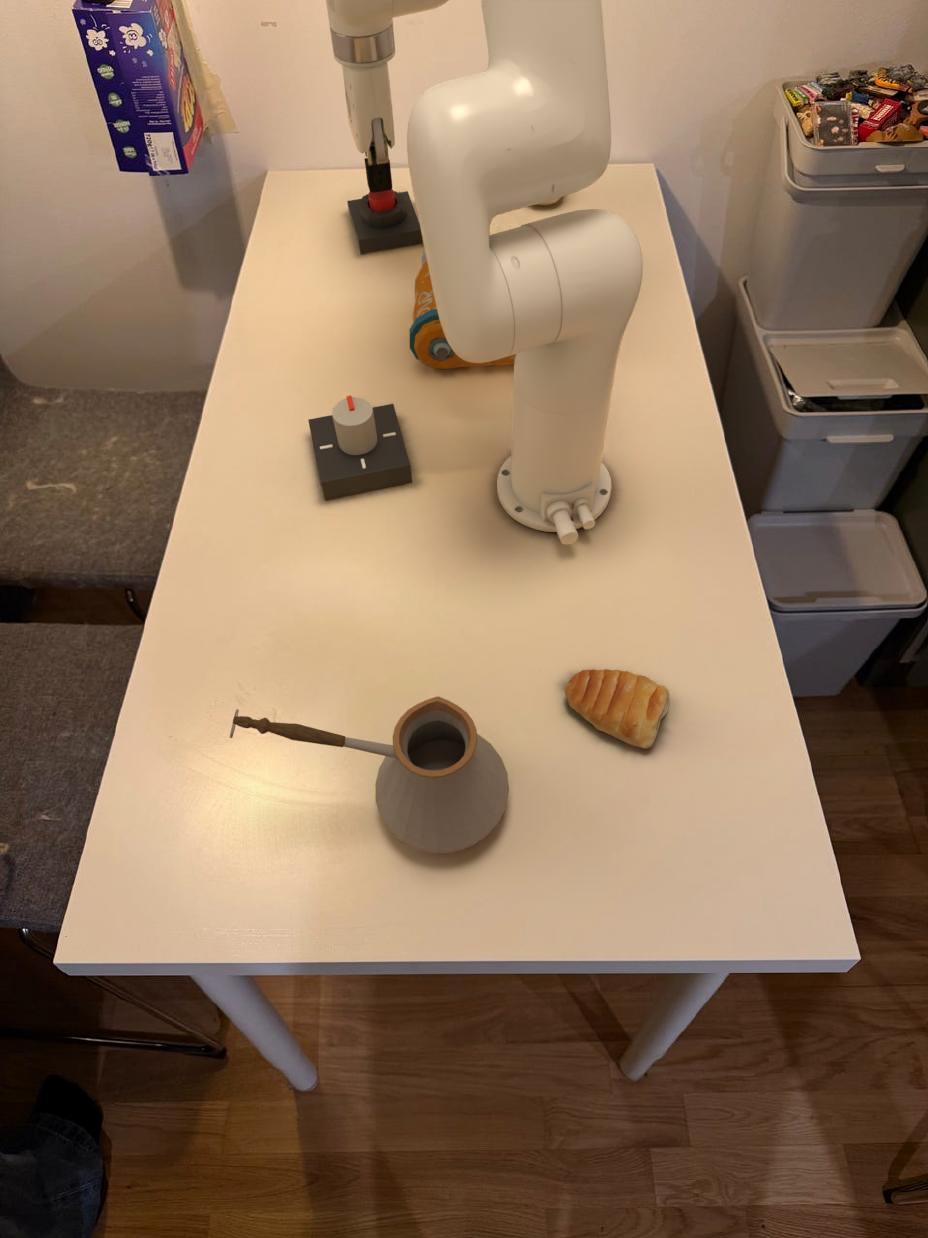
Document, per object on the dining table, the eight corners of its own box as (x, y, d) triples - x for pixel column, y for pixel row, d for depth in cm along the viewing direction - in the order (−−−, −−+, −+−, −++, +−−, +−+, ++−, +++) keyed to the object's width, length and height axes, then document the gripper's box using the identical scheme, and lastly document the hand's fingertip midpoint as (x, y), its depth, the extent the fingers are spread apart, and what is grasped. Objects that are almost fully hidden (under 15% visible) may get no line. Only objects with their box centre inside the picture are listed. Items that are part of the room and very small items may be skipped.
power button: (397, 210, 118) (396, 198, 116) (372, 214, 117) (370, 202, 116) (392, 196, 119) (391, 184, 118) (367, 200, 119) (366, 188, 118)
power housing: (422, 243, 119) (420, 217, 116) (360, 254, 118) (356, 227, 115) (409, 205, 124) (406, 178, 121) (349, 214, 124) (345, 188, 120)
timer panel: (412, 483, 95) (410, 463, 92) (325, 500, 94) (320, 481, 91) (395, 422, 100) (393, 402, 97) (312, 438, 99) (307, 418, 96)
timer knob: (380, 451, 93) (375, 419, 89) (341, 458, 93) (334, 426, 89) (374, 423, 96) (368, 391, 92) (335, 431, 95) (328, 398, 91)
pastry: (553, 720, 78) (556, 701, 75) (577, 662, 81) (581, 641, 78) (651, 756, 76) (658, 738, 73) (672, 695, 79) (679, 675, 76)
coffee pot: (510, 741, 77) (513, 659, 64) (506, 866, 71) (509, 802, 58) (281, 733, 78) (239, 650, 66) (258, 855, 72) (207, 790, 59)
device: (401, 213, 109) (630, 197, 109) (406, 270, 116) (622, 255, 116) (406, 326, 97) (665, 307, 97) (412, 382, 104) (653, 364, 104)
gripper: (323, 17, 104) (345, 163, 120) (342, 73, 97) (362, 223, 112) (382, 9, 105) (396, 155, 121) (405, 64, 97) (417, 213, 113)
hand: (380, 187), depth 116 cm, fingers closed
